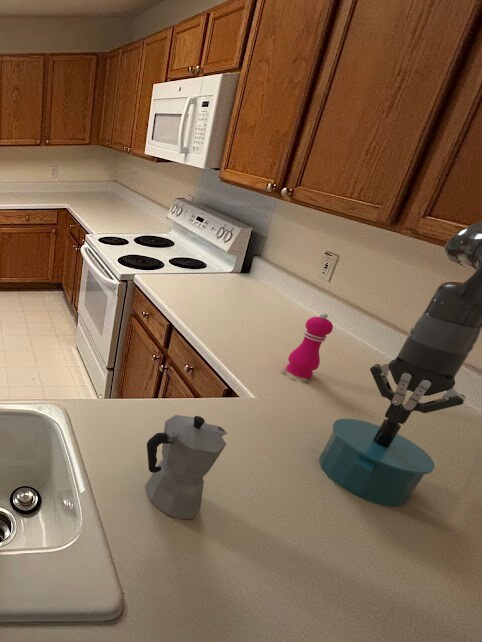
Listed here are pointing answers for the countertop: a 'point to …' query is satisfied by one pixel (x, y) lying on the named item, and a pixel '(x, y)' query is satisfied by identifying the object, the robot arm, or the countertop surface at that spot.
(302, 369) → the pepper mill
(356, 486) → the pot
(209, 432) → the coffeepot
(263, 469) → the countertop surface
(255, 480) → the countertop surface
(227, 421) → the countertop surface
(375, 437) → the lid
